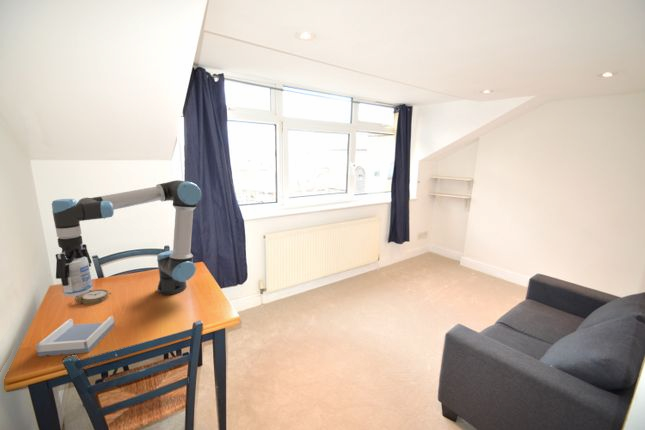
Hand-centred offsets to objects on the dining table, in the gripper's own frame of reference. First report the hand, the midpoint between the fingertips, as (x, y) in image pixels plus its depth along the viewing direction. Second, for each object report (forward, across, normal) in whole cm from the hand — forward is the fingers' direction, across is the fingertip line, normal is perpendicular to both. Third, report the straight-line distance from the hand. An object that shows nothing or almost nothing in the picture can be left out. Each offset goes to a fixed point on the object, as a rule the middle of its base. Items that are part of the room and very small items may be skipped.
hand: (77, 286), depth 120 cm
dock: (+22, +5, +1) cm, 23 cm away
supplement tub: (+3, 0, 0) cm, 3 cm away
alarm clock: (+23, -31, -16) cm, 41 cm away
